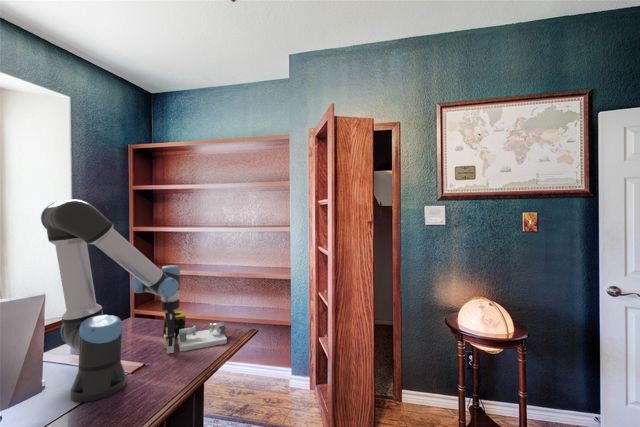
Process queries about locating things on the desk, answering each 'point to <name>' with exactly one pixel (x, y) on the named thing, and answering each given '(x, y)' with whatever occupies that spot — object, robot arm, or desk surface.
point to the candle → (177, 322)
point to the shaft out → (217, 327)
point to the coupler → (166, 341)
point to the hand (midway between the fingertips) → (169, 346)
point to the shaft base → (198, 338)
